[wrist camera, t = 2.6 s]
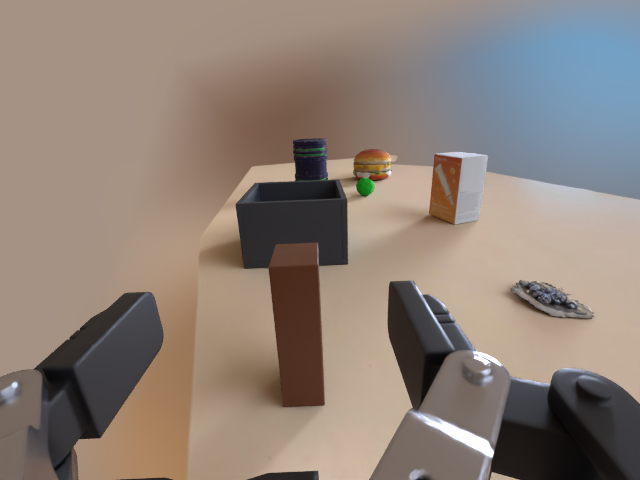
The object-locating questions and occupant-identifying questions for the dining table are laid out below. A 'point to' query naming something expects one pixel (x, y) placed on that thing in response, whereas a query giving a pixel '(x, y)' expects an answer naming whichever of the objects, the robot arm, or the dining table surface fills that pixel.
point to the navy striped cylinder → (310, 159)
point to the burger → (372, 164)
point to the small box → (457, 186)
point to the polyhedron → (365, 186)
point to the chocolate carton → (298, 322)
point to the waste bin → (293, 220)
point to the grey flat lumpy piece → (551, 300)
